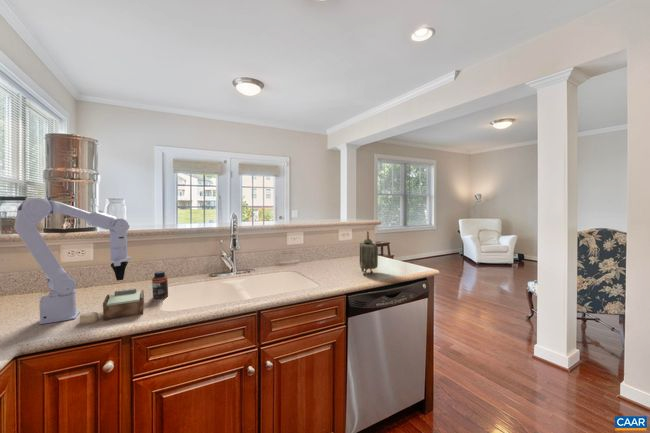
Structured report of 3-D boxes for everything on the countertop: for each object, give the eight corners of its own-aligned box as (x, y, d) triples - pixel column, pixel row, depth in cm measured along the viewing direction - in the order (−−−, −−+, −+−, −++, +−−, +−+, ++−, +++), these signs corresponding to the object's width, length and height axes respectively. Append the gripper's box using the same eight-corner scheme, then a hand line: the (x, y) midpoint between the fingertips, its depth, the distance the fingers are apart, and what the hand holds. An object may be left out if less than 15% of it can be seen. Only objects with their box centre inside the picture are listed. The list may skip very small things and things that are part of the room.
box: (103, 320, 103) (102, 303, 103) (107, 310, 113) (107, 294, 112) (143, 313, 109) (142, 297, 109) (144, 304, 119) (143, 289, 118)
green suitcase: (359, 270, 177) (359, 229, 176) (374, 270, 177) (374, 230, 176) (361, 276, 163) (361, 232, 162) (377, 276, 163) (378, 232, 161)
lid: (106, 305, 104) (106, 300, 103) (110, 297, 113) (110, 291, 113) (139, 301, 109) (139, 295, 108) (140, 293, 118) (140, 287, 118)
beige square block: (78, 325, 99) (77, 318, 99) (81, 320, 103) (81, 313, 103) (96, 322, 101) (96, 315, 101) (99, 317, 106) (99, 310, 106)
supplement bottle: (164, 294, 133) (164, 269, 132) (170, 296, 129) (169, 271, 128) (150, 297, 128) (149, 272, 127) (155, 300, 124) (155, 274, 124)
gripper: (128, 249, 115) (130, 282, 116) (132, 244, 128) (133, 274, 128) (106, 250, 111) (108, 285, 112) (112, 245, 124) (113, 276, 125)
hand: (120, 279), depth 120 cm, fingers closed
